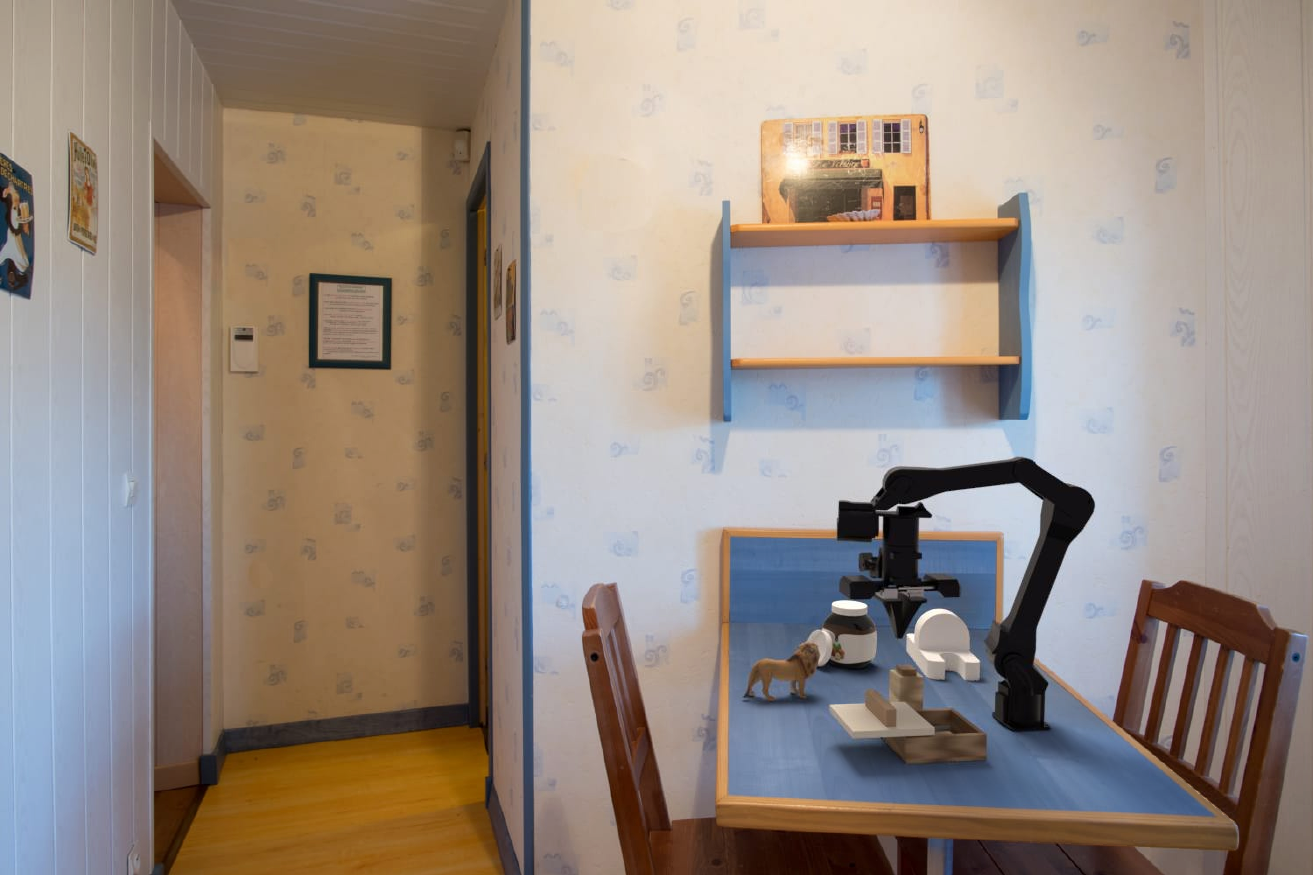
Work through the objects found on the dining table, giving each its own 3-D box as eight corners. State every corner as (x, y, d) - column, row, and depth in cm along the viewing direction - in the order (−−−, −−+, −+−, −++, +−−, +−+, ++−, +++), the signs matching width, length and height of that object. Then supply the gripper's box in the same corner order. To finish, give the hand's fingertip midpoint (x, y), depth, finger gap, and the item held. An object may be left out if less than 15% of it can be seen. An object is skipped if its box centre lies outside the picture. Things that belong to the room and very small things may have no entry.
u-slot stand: (952, 651, 165) (953, 600, 165) (981, 681, 147) (982, 624, 147) (905, 650, 166) (906, 599, 165) (928, 680, 148) (929, 622, 147)
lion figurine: (810, 686, 144) (810, 636, 144) (826, 696, 139) (826, 645, 139) (736, 695, 139) (737, 644, 139) (750, 706, 134) (750, 653, 134)
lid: (904, 708, 123) (905, 685, 123) (934, 734, 113) (934, 710, 113) (829, 711, 122) (829, 688, 122) (853, 738, 112) (853, 713, 112)
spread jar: (881, 664, 156) (882, 605, 156) (852, 678, 148) (853, 616, 147) (828, 651, 164) (828, 595, 164) (797, 663, 156) (798, 605, 156)
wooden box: (952, 731, 124) (952, 707, 124) (986, 759, 114) (986, 734, 114) (878, 734, 123) (878, 710, 123) (906, 763, 113) (906, 738, 113)
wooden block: (911, 710, 133) (912, 662, 132) (922, 719, 129) (923, 670, 128) (888, 711, 132) (889, 663, 132) (899, 720, 128) (899, 671, 128)
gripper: (932, 534, 139) (930, 623, 140) (828, 536, 137) (827, 625, 138) (963, 546, 128) (961, 642, 129) (852, 548, 126) (850, 645, 127)
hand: (898, 638), depth 131 cm, fingers closed
